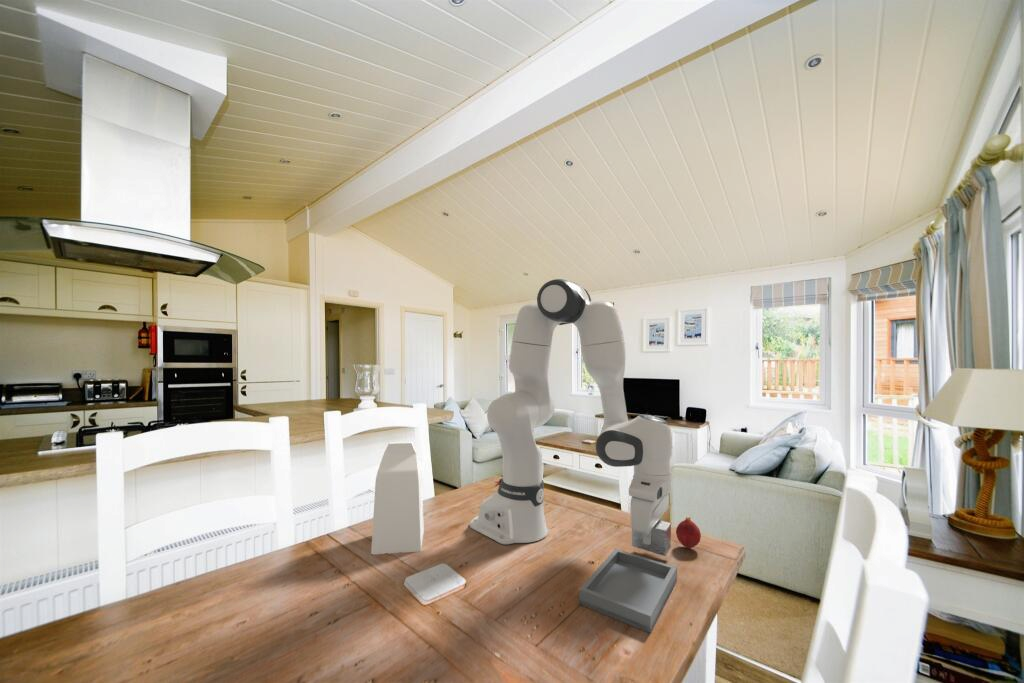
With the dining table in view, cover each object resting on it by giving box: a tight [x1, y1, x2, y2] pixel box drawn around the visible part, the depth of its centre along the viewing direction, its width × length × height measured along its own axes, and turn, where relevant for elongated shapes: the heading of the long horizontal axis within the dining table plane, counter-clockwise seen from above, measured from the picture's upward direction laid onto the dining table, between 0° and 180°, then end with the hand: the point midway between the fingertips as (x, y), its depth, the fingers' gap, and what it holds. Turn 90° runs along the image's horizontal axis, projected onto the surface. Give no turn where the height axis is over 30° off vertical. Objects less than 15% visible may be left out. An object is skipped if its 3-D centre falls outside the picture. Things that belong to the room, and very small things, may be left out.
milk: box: [370, 441, 425, 555], centre depth 105 cm, size 12×12×26 cm
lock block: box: [631, 520, 672, 557], centre depth 98 cm, size 8×5×6 cm, turn 55°
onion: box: [675, 516, 702, 550], centre depth 102 cm, size 6×6×8 cm
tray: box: [578, 548, 678, 634], centre depth 84 cm, size 14×20×3 cm
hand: (651, 538), depth 98 cm, fingers closed on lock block, 5 cm apart
